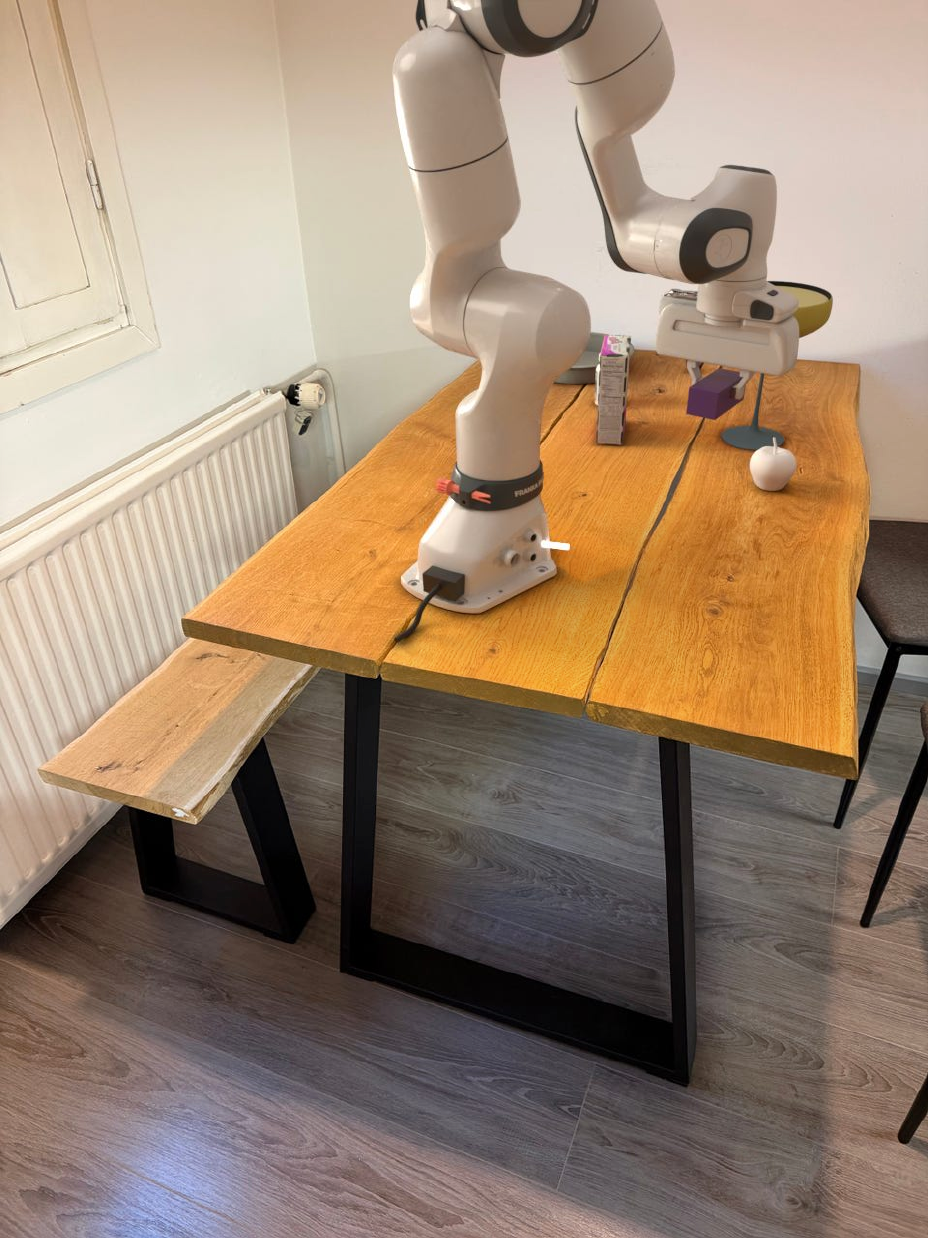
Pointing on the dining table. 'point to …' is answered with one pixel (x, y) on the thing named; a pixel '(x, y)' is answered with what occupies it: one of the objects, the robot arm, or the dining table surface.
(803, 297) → the cocktail glass
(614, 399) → the candy bar box
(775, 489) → the plain white apple
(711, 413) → the purple rectangular block
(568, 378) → the cake pan
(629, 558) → the dining table surface
